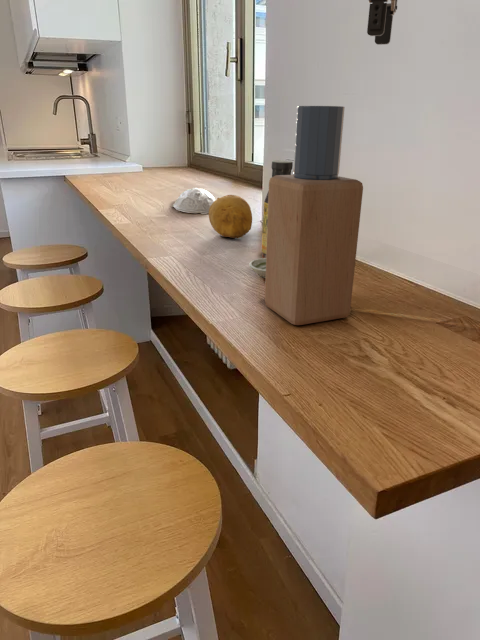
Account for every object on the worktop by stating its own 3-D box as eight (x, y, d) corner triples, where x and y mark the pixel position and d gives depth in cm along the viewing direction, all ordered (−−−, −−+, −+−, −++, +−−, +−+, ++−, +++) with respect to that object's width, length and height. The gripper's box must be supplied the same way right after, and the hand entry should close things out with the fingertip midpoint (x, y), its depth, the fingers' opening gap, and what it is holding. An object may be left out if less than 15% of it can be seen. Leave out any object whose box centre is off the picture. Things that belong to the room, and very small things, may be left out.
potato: (223, 243, 116) (223, 200, 113) (202, 232, 127) (202, 192, 123) (261, 239, 121) (262, 197, 117) (238, 229, 131) (239, 190, 127)
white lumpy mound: (217, 199, 174) (215, 179, 171) (223, 216, 151) (221, 194, 148) (173, 204, 173) (170, 184, 170) (173, 221, 150) (170, 199, 147)
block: (293, 328, 70) (302, 182, 62) (262, 305, 78) (266, 174, 71) (352, 318, 74) (367, 180, 66) (316, 297, 82) (325, 172, 74)
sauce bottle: (256, 257, 105) (259, 159, 98) (282, 254, 107) (287, 159, 100) (269, 265, 100) (273, 162, 92) (297, 262, 102) (303, 161, 94)
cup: (341, 176, 70) (347, 107, 66) (333, 181, 65) (339, 105, 61) (299, 174, 72) (303, 106, 68) (288, 178, 67) (291, 105, 63)
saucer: (286, 266, 99) (286, 254, 98) (309, 280, 90) (310, 268, 90) (241, 271, 96) (241, 259, 95) (261, 286, 87) (261, 273, 86)
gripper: (421, -129, 57) (402, 31, 64) (425, -85, 70) (409, 45, 76) (356, -120, 60) (344, 33, 66) (371, -79, 72) (359, 47, 78)
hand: (378, 40), depth 71 cm, fingers open, 8 cm apart
